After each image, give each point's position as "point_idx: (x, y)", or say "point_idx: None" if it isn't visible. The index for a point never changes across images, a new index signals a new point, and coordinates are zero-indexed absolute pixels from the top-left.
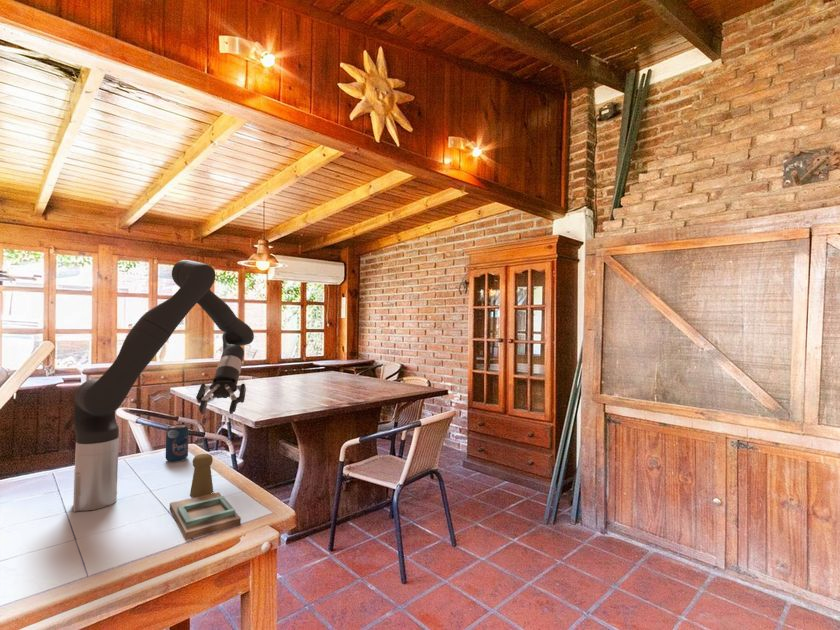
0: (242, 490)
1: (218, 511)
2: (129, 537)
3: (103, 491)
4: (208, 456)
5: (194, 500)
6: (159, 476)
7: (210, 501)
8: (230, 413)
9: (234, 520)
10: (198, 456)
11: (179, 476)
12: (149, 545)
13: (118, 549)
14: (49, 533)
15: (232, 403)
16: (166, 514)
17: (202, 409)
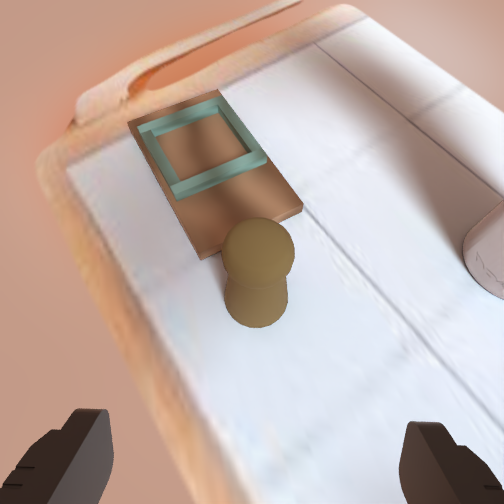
0: (140, 303)
1: (176, 151)
2: (318, 115)
3: (493, 210)
4: (232, 233)
5: (248, 209)
6: None
7: (200, 175)
8: (107, 449)
9: (139, 119)
10: (270, 229)
11: None
12: (270, 91)
13: (313, 87)
14: (476, 142)
15: (23, 499)
16: (295, 186)
17: (422, 425)
